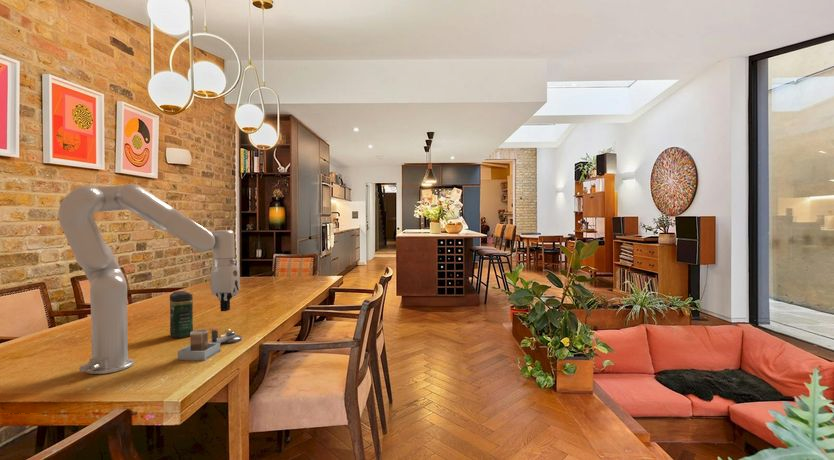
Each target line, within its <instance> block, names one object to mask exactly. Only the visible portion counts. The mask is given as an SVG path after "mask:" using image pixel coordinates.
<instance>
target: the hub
mask: <svg viewBox="0 0 834 460" xmlns="http://www.w3.org/2000/svg"><path fill="white" fill-rule="evenodd" d="M241 341H242V335H240V334H235V337H233V338H231V339H229V340H226V341H224V342H222V343H221V344H235V343H238V342H241Z"/></svg>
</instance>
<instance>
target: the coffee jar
mask: <svg viewBox="0 0 834 460" xmlns="http://www.w3.org/2000/svg"><path fill="white" fill-rule="evenodd" d="M169 295H170V296H169V307H170V309H169V318H170V320H169V334H170V337H172V338H176V339H177V338H178V339H179V338H181V339H182V338H187V337H190V332H192V331H194V323H193V321H194V314H193V312H194V308H193V305H194V304H193V303H194V300H193V299H194V298H193V297H194V296H193V293H191V292H189V291H188V292H187V291H185V290H177V291H173V292H172V293H171V294H169Z"/></svg>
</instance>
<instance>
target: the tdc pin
mask: <svg viewBox="0 0 834 460" xmlns="http://www.w3.org/2000/svg"><path fill="white" fill-rule="evenodd" d="M229 331H232V330H231V328H226V329H225V331H224V332H225V333H224V335H227V332H229Z"/></svg>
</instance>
